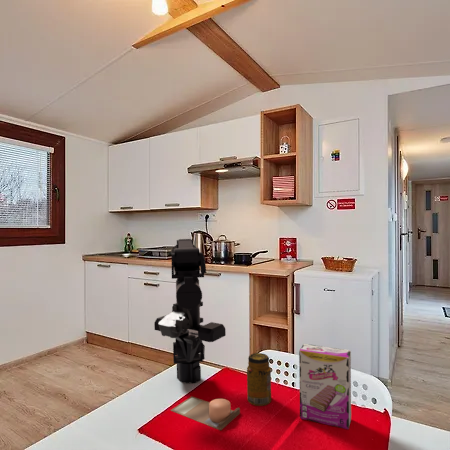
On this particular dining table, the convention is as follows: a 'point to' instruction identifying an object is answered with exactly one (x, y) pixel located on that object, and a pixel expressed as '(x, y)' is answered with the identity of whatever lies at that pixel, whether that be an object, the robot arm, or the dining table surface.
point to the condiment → (258, 379)
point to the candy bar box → (325, 385)
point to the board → (202, 412)
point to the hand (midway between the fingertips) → (189, 361)
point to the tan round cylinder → (219, 410)
